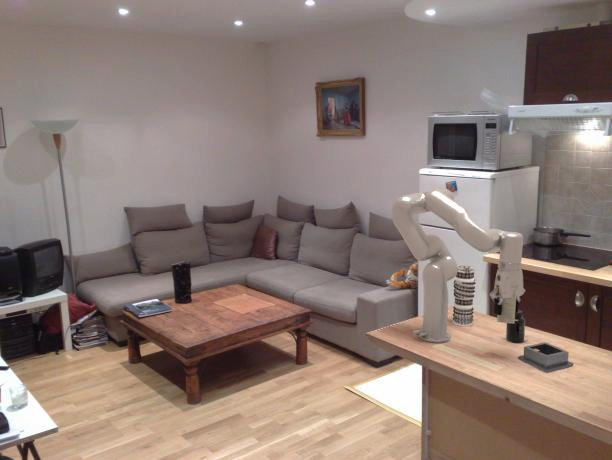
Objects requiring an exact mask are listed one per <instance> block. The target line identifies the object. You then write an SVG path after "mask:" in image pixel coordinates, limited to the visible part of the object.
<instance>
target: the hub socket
mask: <svg viewBox="0 0 612 460" xmlns="http://www.w3.org/2000/svg"><path fill="white" fill-rule="evenodd" d="M569 355H570V354H569V351H567V350H565V349H562V348H561V347H558V346H555V345H553V344H550V343H548V342H546V341H545V342H543V341H542V342H540V343H535V344H532V345H531V344H529V345H526V346H523V355H519V356H517V360H519V361H522V362H524V363H525V364H528V365H529V366H532V367H533V368H536V369H538V370H540V371H542V372H543V373H546V374H547V373H550V372H555V371H559V370H563V369H566V368H567V369H568V368H571V367H573V366H574V363H573V362H572V361H569Z"/></svg>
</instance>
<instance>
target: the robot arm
mask: <svg viewBox="0 0 612 460" xmlns="http://www.w3.org/2000/svg"><path fill="white" fill-rule="evenodd" d="M393 202H394V203H393V204H392V207H391V211H390V216H391V220H392V222H393V224H394V226H395V227H396V229H397V230H398V232H399V234H400V235H401V237H402V238H403V240H404V242H405V244H406V245H407V247H408V249H409V251H410V252H411V253H412V256H413V257H414V259H416V260H417V261H419V262H424V261H429V263H427V264H426V265H425V266H424V268H423V269H422V270H423V271H422V274H421V275H422V284H423V306H422V307H423V309H422V311H423V312H422V325H421V326H420V328H419V329H417V330H413V331H412V335H413V336H418V338H419V339H420V340H422V341H424V342H428V343H434V344H435V343H436V344H439V343H446V342H447V343H448V342H449V341H450V340H451V334H450V333H449V332H448V316H449V315H448V313H449V312H448V311H449V290H448V284H447V283H448V282H449V281H451V280H453V279H454V278H455V276H456V274H457V272H458V267H459V266H458V264H457V262H456V260H455V258H454V257H453V255H452V254H451V252H450V250H449V249H448V247H447V245H446V244H445V242H444V240H443V239H441V238H440V237H439V236H438V235H436V234H426V232H425V231H424V229H423V227H422V226H421V224H420V223H419V222H418V221H417V220H416V219H415V218H414V216H415V215H419V214H423V213H430V212H431V213H433V214H434V215H435V216H437V217H438V218H439V219H441V220H442V221H444V222H445V223H447V224H448V225H450V226H451V227H452V229H454V232H455V233H456V234H457V235H458V236H459V237H460V238H461V239H462V241H464V243H466V244H468V245H469V246H471V247H472V248H473V249H475V250H477V251H478V252H481V253H489V252H492V251H494V250H498V249H499V257H498V258H499V259H498V264H497V268H498V269H497V270H496V275H495V280H494V286H493V287H494V288H493V290H492V291H490V293H489V297H490V298H491V301H492V302H493V303H494V308H493V311H494V312H493V313H494V314H495V315H496V316H497V315H502V305H501V303H502V301H503V299H507V298H512V297H513V292H516V307H515V312H516V313H517V312H518V310H519V304H520V302H521V299H522V298H523V296H524V294H525V293H526V289H525V288H524V275H523V270H522V269H521V268H522V257H523V245H524V236H523V235H524V234H522V233H520V232H517V231H516V232H515V231H506V230H501V229H500V228H499V229H498V228H490V229H486V230H483V229H482V228H481V227H479V226H478V225H476V224H475V223H474V222H473V221H472V220H471V219H470V216H469V212H468V209H467V207H465V206H463V205H461V204H460V203H458V201H456V200H455V196H454V194H453V192H452V191H451V190H449V189H448V188H443V187H442V188H436V189H431V190H428V191H421V192H415V193H411V194H410V193H409V194H405V195H402V196H400V197H397V199H395V201H393ZM499 294H500V296H499ZM498 297H499V298H500V299H499V300H498Z"/></svg>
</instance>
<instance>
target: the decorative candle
mask: <svg viewBox="0 0 612 460" xmlns="http://www.w3.org/2000/svg"><path fill="white" fill-rule="evenodd" d="M454 278H455V279H454V280H453V288H454V289H453V297H454V302H453V306H452V308H453V310H452V312H453V313H452V316H453V317H452V323H453V324H454V325H456V326H459V327H470V326H473V324H474V322H473V321H474V315H473V314H474V310H475V309H474V303H473V302H474V299H475V294H474V293H476V290H475V289H476V286H475V285H476V284H477V283H476V282H475V281H476V279H475V269H474V268H473V266H470V265H459V266H458V272H457V274H456V276H455V277H454Z"/></svg>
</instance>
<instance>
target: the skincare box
mask: <svg viewBox="0 0 612 460" xmlns="http://www.w3.org/2000/svg"><path fill="white" fill-rule="evenodd" d="M499 296H500V294H499ZM499 299H500V298H499V297H498V300H499ZM501 305H502V315H497V314H496V322H497V323H502V324H503V323H504V324H505V323H506V324H507V323H513V324H514V323H515V307H516V292H513V297H512V298H507V299H503V301H502V303H501Z"/></svg>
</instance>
